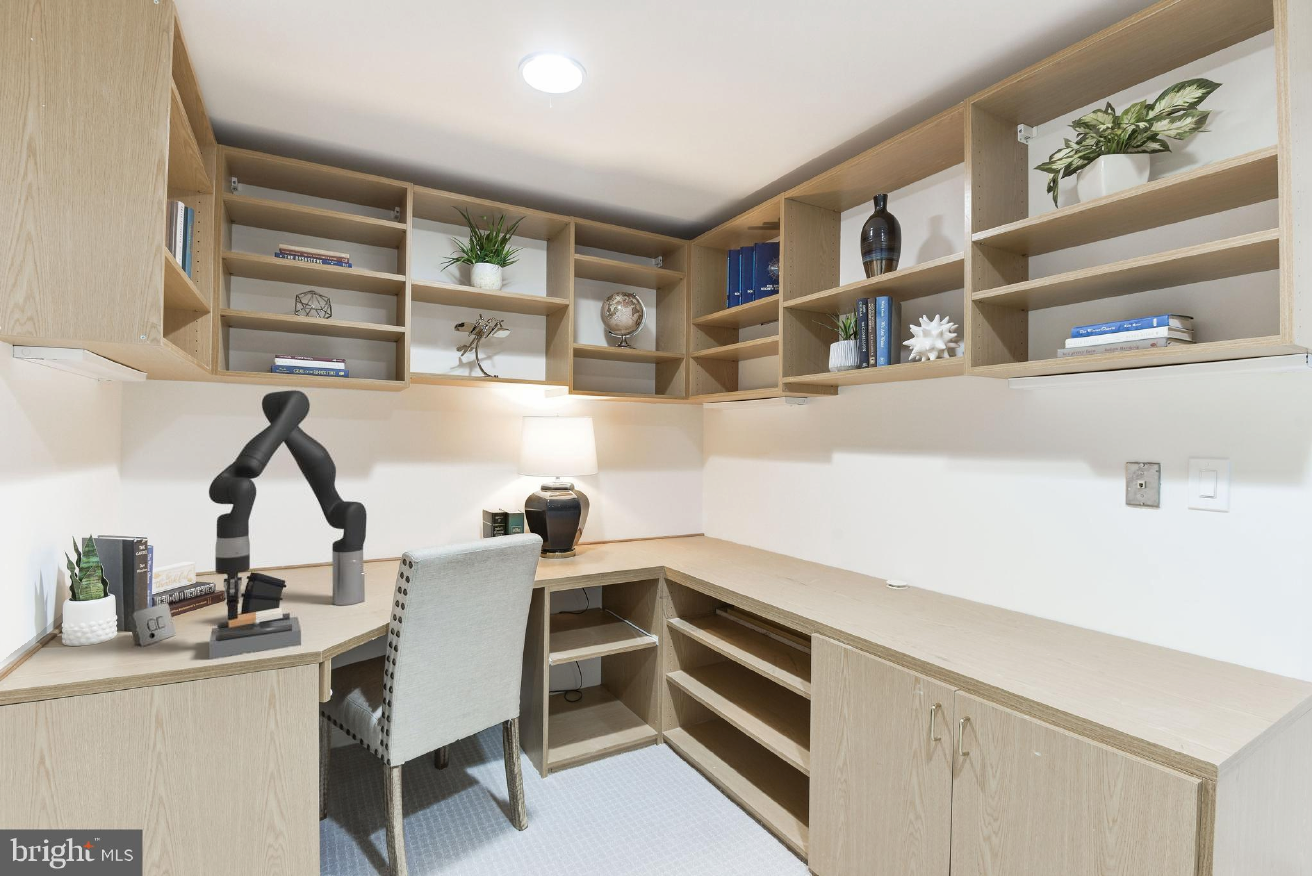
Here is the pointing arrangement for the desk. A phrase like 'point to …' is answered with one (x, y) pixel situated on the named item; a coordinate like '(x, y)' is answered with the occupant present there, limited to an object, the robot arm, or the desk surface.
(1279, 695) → the desk surface
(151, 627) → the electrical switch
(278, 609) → the breaker rocker
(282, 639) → the grey low boxy piece
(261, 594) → the magazine
